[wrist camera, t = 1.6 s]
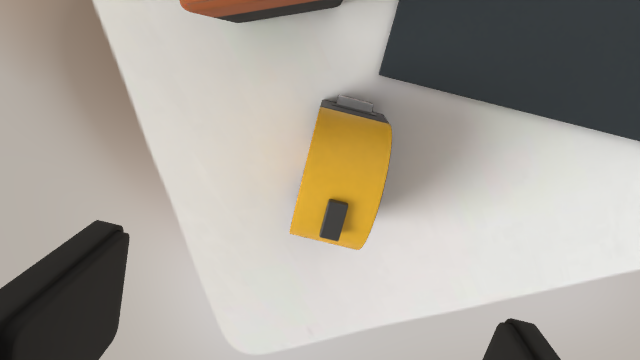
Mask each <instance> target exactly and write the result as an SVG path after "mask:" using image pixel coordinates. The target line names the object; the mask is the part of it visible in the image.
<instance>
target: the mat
mask: <svg viewBox="0 0 640 360" xmlns="http://www.w3.org/2000/svg"><path fill="white" fill-rule="evenodd" d="M379 75H382V76H385V77H389V78H393V79H397V80H401V81H405V82H409V83H413V84H417V85H421V86H425V87H429V88H433V89H437V90H441V91H444V92H448V93H452V94H456V95H460V96H464V97H468V98H472V99H476V100H480V101H484V102H488V103H492V104H496V105H500V106H503V107H507V108H511V109H515V110H519V111H523V112H527V113H531V114H535V115H539V116H543V117H547V118H551V119H555V120H559V121H562V122H566V123H570V124H574V125H578V126H582V127H586V128H590V129H594V130H598V131H602V132H606V133H610V134H614V135H618V136H621V137H625V138H629V139H633V140H637V141H640V0H399V3H398V7H397V10H396V14H395V18H394V21H393V25H392V28H391V32H390V36H389V39H388V43H387V46H386V50H385V54H384V57H383V61H382V64H381V68H380V72H379Z"/></svg>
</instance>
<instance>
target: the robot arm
mask: <svg viewBox="0 0 640 360" xmlns="http://www.w3.org/2000/svg"><path fill="white" fill-rule="evenodd" d="M128 246H129V234H128V233H124V232H123V227H122V226H120V225H116V224H112V223H108V222H104V221H99V220H97V221H94V222H93V223H92V224H90V225H89V226H87V227H86V228H85V229H83V230H82V231H80V232H79V233H78V234H76V235H75V236H73V237H72V238H71V239H69V240H68V241H66V242H65V243H64V244H62V245H61V246H60V247H58V248H57V249H55V250H54V251H52V252H51V253H50V254H49V255H47V256H46V257H44V258H43V259H41V260H40V261H39V262H37V263H36V264H35V265H33V266H32V267H30V268H29V269H27V270H26V271H25V272H23V273H22V274H20V275H19V276H18V277H16V278H15V279H13V280H12V281H11V282H9V283H8V284H6V285H5V286H4V287H2V288H1V289H0V360H99V358H100V357H101V356H102V354H103V353H104V352H105V350H106V349H107V348H108V346H109V345H110V344H111V342H112V341H113V339H114V337H115V335H116V332H117V329H118V324H119V317H120V308H121V301H122V293H123V285H124V277H125V270H126V262H127V254H128ZM483 360H561V359H560V358H559V357H558V355H557V354H556V353H555V351H554V350H553V348H552V347H551V346H550V345H549V343H548V342H547V340H546V339H545V338H544V336H543V335H542V334H541V332H540V331H539V330H538V328H537V327H536V326H535V325H534V324H532V323H528V322H524V321H519V320H515V319H507V320H506V321H505V323H500V324H499V325H498V326H497V328H496V331H495V332H494V335H493V337H492V339H491V342H490V344H489V346H488V349H487V351H486V353H485V355H484V358H483Z"/></svg>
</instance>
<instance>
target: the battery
mask: <svg viewBox="0 0 640 360" xmlns="http://www.w3.org/2000/svg"><path fill="white" fill-rule="evenodd" d="M342 1H343V0H180V4H181V6H182V7H183V8H184V9H185V10H187V11H189V12H193V13H197V14H201V15H205V16H210V17H214V18H218V19H222V20H227V21H231V22H235V23H242V22H249V21H255V20H261V19H267V18H273V17H279V16H285V15H291V14H297V13H304V12H310V11H316V10H322V9H328V8H333V7H337V6H339V5H340V4H341V3H342Z"/></svg>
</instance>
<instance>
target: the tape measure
mask: <svg viewBox="0 0 640 360" xmlns="http://www.w3.org/2000/svg"><path fill="white" fill-rule="evenodd" d="M372 108H373V104H372V103H369V102H365V101H361V100H358V99H354V98H350V97H346V96H342V95H338V98H337V102H336V103H335V102H331V101H327V100H322V103H321V106H320V109H319V113H318V117H317V121H316V125H315V129H314V133H313V137H312V141H311V145H310V149H309V153H308V157H307V161H306V165H305V169H304V173H303V177H302V182H301V186H300V190H299V194H298V198H297V202H296V206H295V211H294V215H293V219H292V223H291V228H290V234H293V235H298V236H302V237H306V238H310V239H314V240H318V241H323V242H327V243H331V244H335V245H339V246H343V247H348V248H352V249H356V250H359V249H361V248H362V246H363V245H364V243H365V242H366V240H367V238H368V235H369V233H370V231H371V228H372V226H373V223H374V220H375V217H376V214H377V211H378V208H379V204H380V201H381V197H382V193H383V189H384V185H385V181H386V176H387V171H388V166H389V160H390V153H391V144H392V130H391V126H390V125H389V123H388V121H387V120H386V118H385V117H384V115H382V114H378V113H374V112H372Z"/></svg>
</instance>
